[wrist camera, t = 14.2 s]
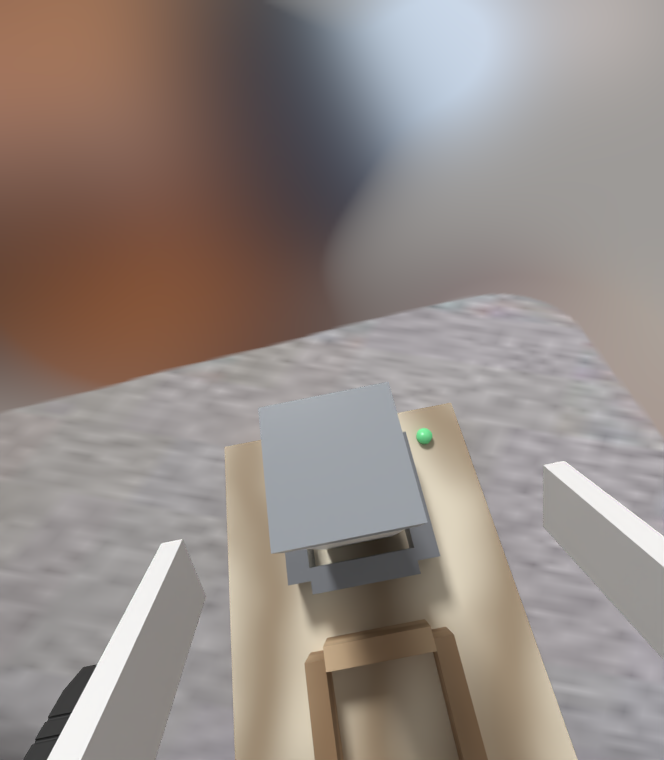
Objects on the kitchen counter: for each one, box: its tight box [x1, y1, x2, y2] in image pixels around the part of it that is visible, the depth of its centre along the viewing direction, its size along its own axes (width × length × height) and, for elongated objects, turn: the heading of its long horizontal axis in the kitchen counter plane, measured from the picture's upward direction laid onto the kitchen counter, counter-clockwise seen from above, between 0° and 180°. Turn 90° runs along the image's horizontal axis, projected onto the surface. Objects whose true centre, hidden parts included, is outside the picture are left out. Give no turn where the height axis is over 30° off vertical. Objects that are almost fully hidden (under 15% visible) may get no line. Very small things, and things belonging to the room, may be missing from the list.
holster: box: [304, 619, 488, 760], centre depth 16 cm, size 7×7×2 cm
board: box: [225, 403, 577, 760], centre depth 20 cm, size 16×20×1 cm
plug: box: [258, 382, 428, 554], centre depth 16 cm, size 4×4×13 cm
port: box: [285, 428, 440, 594], centre depth 21 cm, size 10×8×2 cm
